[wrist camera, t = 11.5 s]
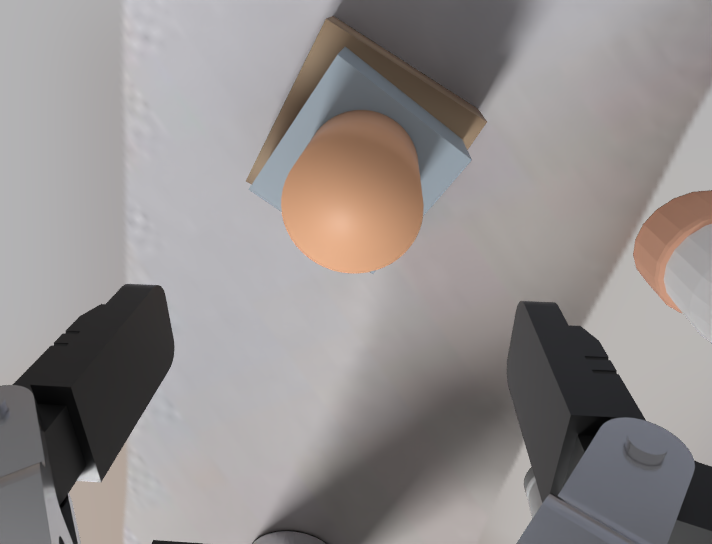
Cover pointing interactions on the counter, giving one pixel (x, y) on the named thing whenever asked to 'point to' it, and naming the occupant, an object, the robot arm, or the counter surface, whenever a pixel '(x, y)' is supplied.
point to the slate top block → (375, 93)
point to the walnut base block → (399, 73)
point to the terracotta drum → (355, 193)
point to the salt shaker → (680, 257)
